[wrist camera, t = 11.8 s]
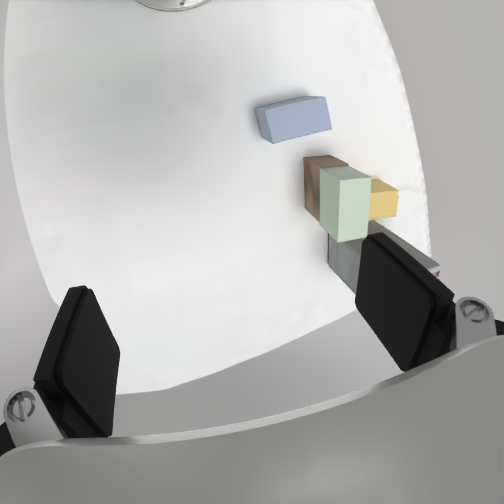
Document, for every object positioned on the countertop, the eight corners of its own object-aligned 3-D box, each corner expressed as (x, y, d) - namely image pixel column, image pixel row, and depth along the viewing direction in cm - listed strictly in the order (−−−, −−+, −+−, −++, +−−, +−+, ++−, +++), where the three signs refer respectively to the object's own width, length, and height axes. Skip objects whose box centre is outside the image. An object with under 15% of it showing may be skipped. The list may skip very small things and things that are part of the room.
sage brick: (319, 168, 33) (339, 180, 29) (348, 166, 34) (371, 177, 29) (319, 224, 37) (337, 242, 32) (346, 219, 37) (366, 237, 33)
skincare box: (326, 264, 46) (378, 333, 33) (328, 222, 43) (389, 283, 29) (372, 254, 47) (431, 313, 34) (377, 214, 44) (444, 266, 30)
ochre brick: (336, 209, 42) (353, 223, 38) (337, 183, 40) (355, 195, 36) (377, 203, 43) (396, 216, 39) (378, 179, 41) (398, 190, 37)
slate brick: (262, 137, 35) (273, 143, 31) (254, 108, 33) (264, 110, 29) (314, 124, 36) (331, 129, 31) (308, 96, 34) (325, 96, 29)
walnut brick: (303, 157, 37) (319, 166, 33) (330, 155, 38) (348, 163, 34) (304, 207, 41) (319, 222, 36) (330, 204, 41) (346, 217, 37)
